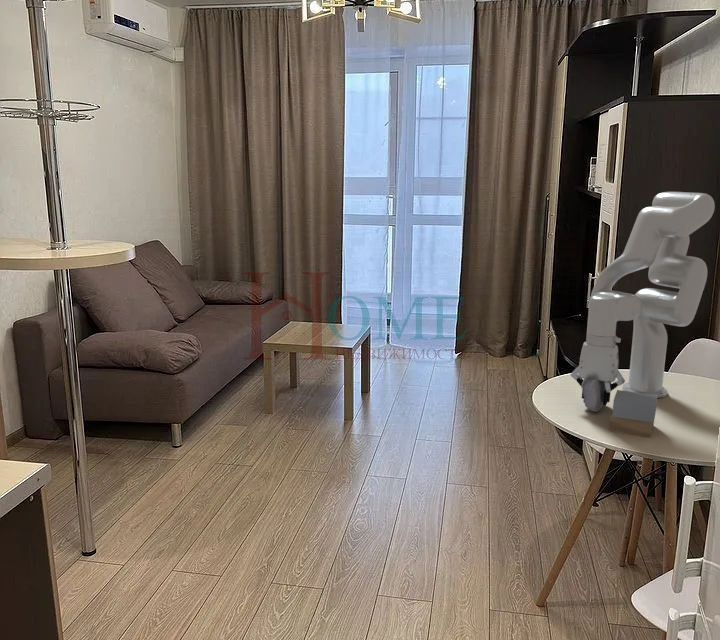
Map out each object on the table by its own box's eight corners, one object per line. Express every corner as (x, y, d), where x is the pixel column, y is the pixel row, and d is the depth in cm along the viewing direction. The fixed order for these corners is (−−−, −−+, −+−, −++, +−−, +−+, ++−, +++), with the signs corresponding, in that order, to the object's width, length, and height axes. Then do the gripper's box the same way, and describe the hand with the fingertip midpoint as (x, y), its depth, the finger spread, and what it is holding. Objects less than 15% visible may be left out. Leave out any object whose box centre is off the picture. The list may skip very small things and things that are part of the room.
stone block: (592, 402, 204) (594, 369, 202) (608, 405, 201) (611, 372, 199) (577, 413, 195) (580, 379, 193) (594, 417, 192) (597, 382, 190)
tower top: (615, 405, 189) (617, 389, 188) (655, 411, 185) (657, 395, 184) (612, 416, 181) (613, 400, 180) (653, 422, 177) (655, 405, 176)
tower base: (613, 420, 191) (615, 405, 190) (653, 427, 186) (655, 411, 185) (608, 431, 183) (610, 415, 182) (649, 439, 178) (651, 422, 177)
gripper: (634, 340, 193) (628, 403, 197) (571, 333, 200) (567, 394, 204) (631, 347, 186) (625, 411, 190) (566, 339, 194) (561, 402, 198)
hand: (595, 402), depth 197 cm, fingers closed on stone block, 4 cm apart
